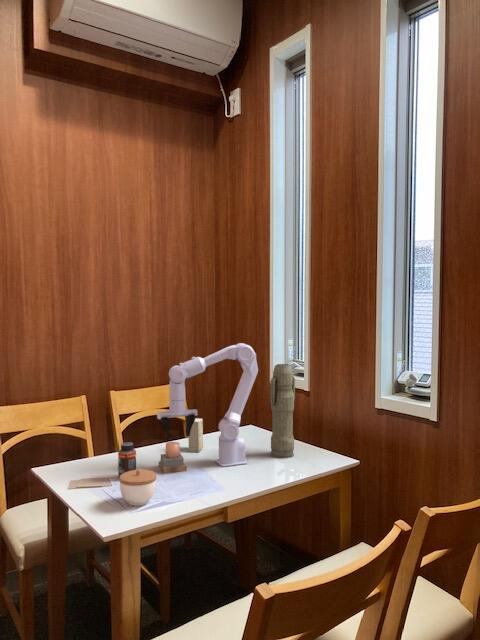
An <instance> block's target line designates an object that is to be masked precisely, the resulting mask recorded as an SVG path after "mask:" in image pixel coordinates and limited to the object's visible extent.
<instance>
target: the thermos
mask: <svg viewBox="0 0 480 640" xmlns="http://www.w3.org/2000/svg"><path fill="white" fill-rule="evenodd" d="M292 368H293V367H292V366H291V365H290V364H289V363H277V364H276V365H274V367H273V371H272V377H271V379H270V381H269V382H270V383H269V387H270V389H269V395H270V396H269V399H270V401H269V402H270V405H271V406H270V407H271V411H272V412H271V413H272V414H271V415H272V416H271V417H272V418H271V419H272V421H271V422H272V423H271V424H272V425H271V426H272V431H271V433H272V434H271V437H270V449H271V451H270V452H271V453H270V455H271V457H273V458H278V459H289V458H292V457H294V450H295V437H294V434H293V433H294V432H293V431H294V429H293V426H294V425H293V424H294V423H293V421H294V419H293V418H294V416H293V414H294V410H295V401H296V379H295V377H294V375H293V373H294V372H293V369H292Z"/></svg>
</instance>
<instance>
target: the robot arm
mask: <svg viewBox="0 0 480 640" xmlns="http://www.w3.org/2000/svg"><path fill="white" fill-rule="evenodd" d="M224 360H234V361H236V360H237V361H238V362H239V363H240V366H241V368H242V370H243V372H242V374H241V378H240V380H239V383H238V384H237V388H236V390H235V392H234V395H233V398H232V399H231V402H230V405H229V408H228V410H227V412H226V413H225V414H224V417H223V418H222V419H220V421H219V423H218V425H217V426H218V427H217V428H218V430H219V432H220V435H219V436H218V458H216V459H214V462H215V463H217V464H218V465H219V466H220V467H222V468H224V467H231V466H236V465H246V464H247V462H246V442H245V439H244V438H243V437H242V436H241V437H239V434H240V424H241V418H242V417H241V416H242V414H243V411H244V409H245V407H246V403H247V401H248V399H249V396H250V394H251V391H252V387H253V385H254V383H255V381H256V378H257V375H258V372H259V367H258V362H257V353H256V352H255V350H254V349H253V347H252V346H250V345H248V344H246V343H242V342H240V343H239V342H238V343H237V344H233V345H229V346H227V347H225V348H222V349H221V350H218V351H216V352H214V353H212V354H209V355H207V356H205V357H201V356H192V357H191V359H189V360H187V361H184V362H180V363H179V365H173V366H172V367H171V368H170V369H169V371H168V377H169V387H168V389H169V390H168V391H169V399H168V401H169V403H168V405H169V410H167V411H162V412H157V413H156V419H157V420H159V422H160V423H161V426H162V429H163V431H164V436H165V439H167V440H168V439H170V422H171V421H170V420H169V419H170V418H171V419H172V418H180V417H184V418H185V436H187V437H189V436H190V431H191V428H192V425H193V423H194V421H195V418H197V416H198V409H186V386H185V383H186V382H185V381H186V379H189V378H192V377H194V376H196V375H198V374H201V373H203V372H205V371H206V368H207V367H208V366H211V365H213V364H216V363H219V362H221V361H224Z"/></svg>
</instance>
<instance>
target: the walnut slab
mask: <svg viewBox="0 0 480 640" xmlns="http://www.w3.org/2000/svg"><path fill="white" fill-rule="evenodd" d="M187 467H188V466H187V464H186V463H185V462H184V466H174V467H163V465H162V463H161V460H160V461H158V468H159V469H160V471H161V472H162V474H163V475H169V474H176V473H184V472H188V471H187V469H188V468H187Z"/></svg>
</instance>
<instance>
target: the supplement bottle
mask: <svg viewBox="0 0 480 640" xmlns="http://www.w3.org/2000/svg"><path fill="white" fill-rule="evenodd" d="M117 456H118V457H117V461H118V462H117V464H118V465H117V466H118V468H117V471H118V475H117V476H118V478H119V477H120V475H121V474H123V473H125V472H128V471H132V470H137V450H136V449H134V443H133V442H122V443H121V444H120V450H118V455H117Z"/></svg>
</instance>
